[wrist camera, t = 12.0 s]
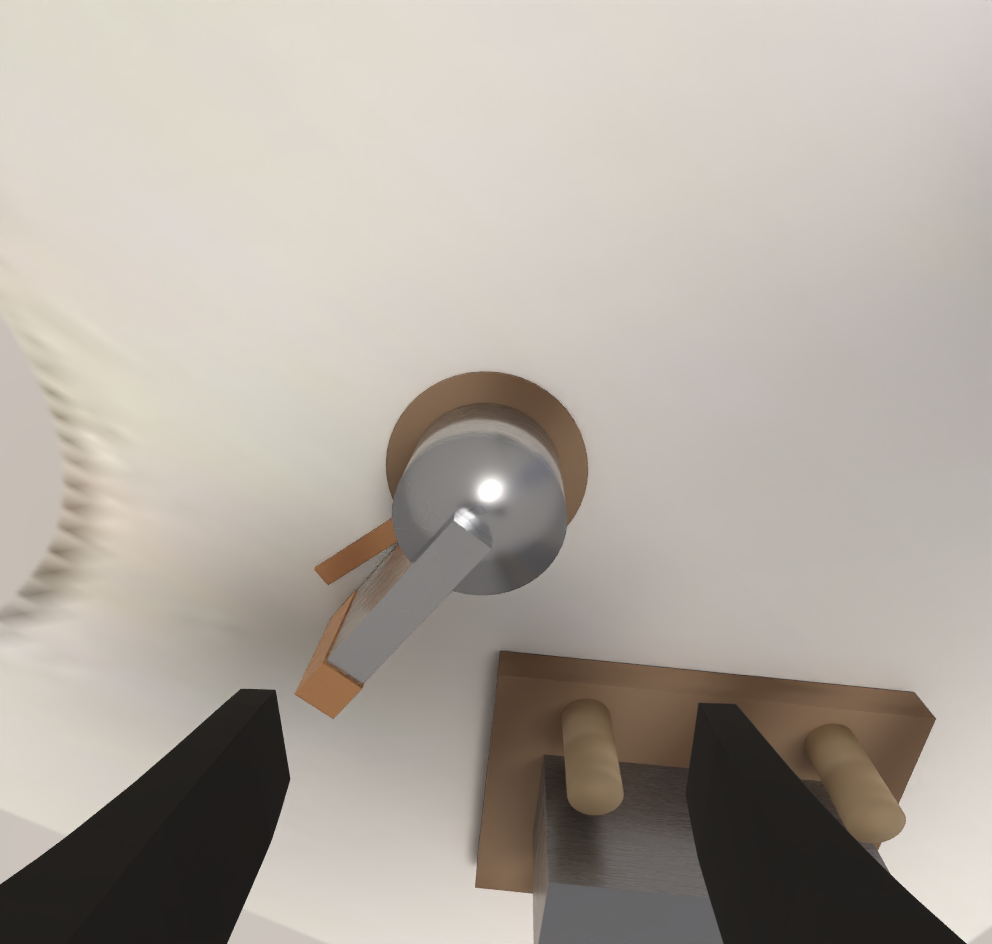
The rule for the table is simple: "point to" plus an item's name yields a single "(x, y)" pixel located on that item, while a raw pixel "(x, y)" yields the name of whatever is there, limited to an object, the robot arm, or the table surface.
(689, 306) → the table surface
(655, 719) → the walnut board
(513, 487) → the silver lever knob
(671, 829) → the steel bar
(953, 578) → the table surface
